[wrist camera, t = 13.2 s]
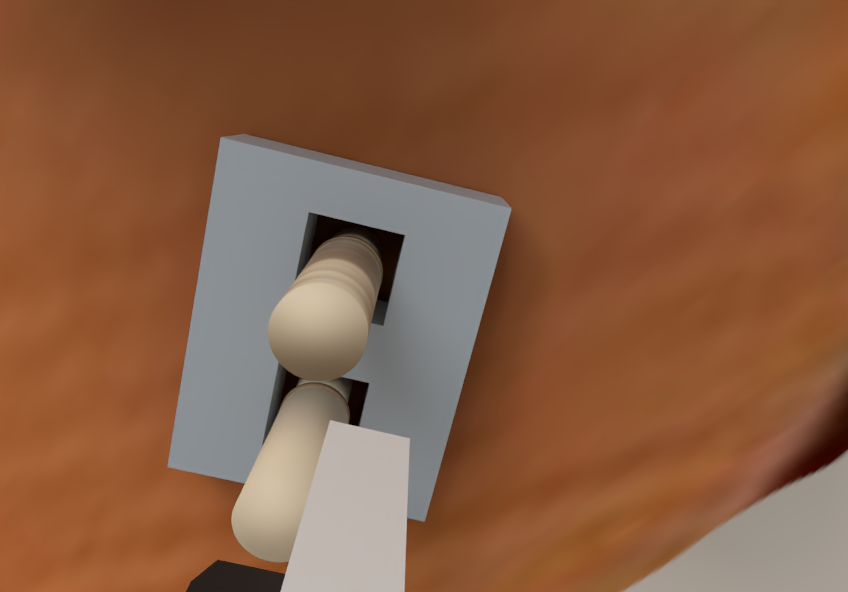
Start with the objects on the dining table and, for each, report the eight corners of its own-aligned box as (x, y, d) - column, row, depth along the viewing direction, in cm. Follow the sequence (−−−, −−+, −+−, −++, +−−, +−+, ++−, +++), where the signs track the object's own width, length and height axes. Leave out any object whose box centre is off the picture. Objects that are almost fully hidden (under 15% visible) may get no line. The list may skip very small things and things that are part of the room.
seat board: (244, 133, 41) (137, 149, 26) (501, 196, 42) (547, 248, 27) (193, 429, 46) (79, 590, 31) (424, 479, 47) (425, 659, 32)
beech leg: (329, 214, 42) (276, 275, 27) (394, 229, 43) (378, 299, 27) (316, 276, 44) (258, 370, 28) (379, 291, 44) (356, 392, 28)
